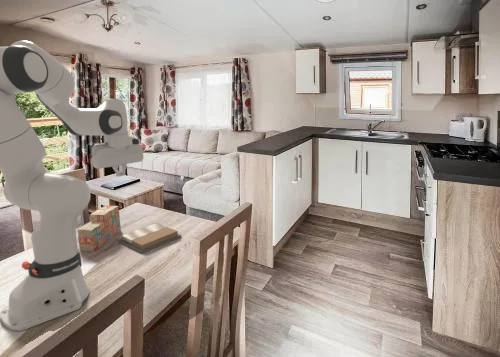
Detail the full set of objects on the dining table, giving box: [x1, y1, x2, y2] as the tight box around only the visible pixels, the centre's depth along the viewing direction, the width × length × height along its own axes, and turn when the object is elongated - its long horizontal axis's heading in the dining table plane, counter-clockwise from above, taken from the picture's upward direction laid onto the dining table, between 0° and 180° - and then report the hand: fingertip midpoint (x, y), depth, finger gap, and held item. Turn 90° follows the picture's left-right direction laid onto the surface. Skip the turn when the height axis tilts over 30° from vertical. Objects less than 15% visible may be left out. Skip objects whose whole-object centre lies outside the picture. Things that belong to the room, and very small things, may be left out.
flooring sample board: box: [117, 226, 182, 254], centre depth 141 cm, size 20×17×3 cm
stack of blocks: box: [77, 205, 122, 252], centre depth 139 cm, size 21×6×12 cm, turn 173°
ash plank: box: [121, 222, 167, 244], centre depth 143 cm, size 18×7×2 cm, turn 142°
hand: (120, 175), depth 131 cm, fingers closed
